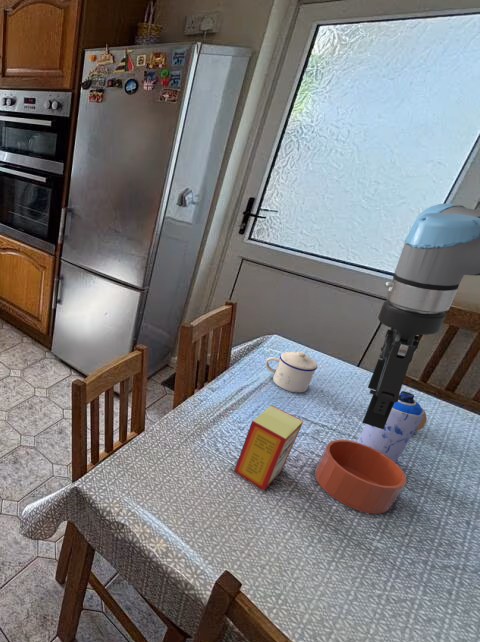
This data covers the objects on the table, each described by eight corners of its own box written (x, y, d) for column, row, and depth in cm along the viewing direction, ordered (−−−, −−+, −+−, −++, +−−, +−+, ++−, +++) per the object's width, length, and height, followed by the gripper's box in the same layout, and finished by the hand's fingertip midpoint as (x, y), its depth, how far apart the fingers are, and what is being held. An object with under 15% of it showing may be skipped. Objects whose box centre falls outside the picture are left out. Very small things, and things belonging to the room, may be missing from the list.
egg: (423, 438, 107) (437, 415, 103) (398, 434, 108) (411, 411, 105) (411, 425, 111) (424, 402, 108) (387, 420, 113) (399, 398, 109)
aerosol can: (393, 456, 102) (430, 392, 93) (394, 477, 96) (434, 411, 88) (351, 441, 106) (383, 378, 98) (350, 459, 101) (384, 395, 92)
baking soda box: (252, 453, 103) (271, 403, 97) (282, 470, 98) (304, 419, 92) (233, 471, 99) (252, 420, 92) (263, 490, 94) (285, 438, 87)
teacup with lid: (309, 383, 128) (322, 351, 123) (306, 397, 121) (319, 365, 116) (263, 368, 135) (274, 337, 130) (258, 381, 129) (269, 350, 124)
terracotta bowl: (388, 483, 95) (403, 458, 91) (392, 525, 86) (409, 499, 82) (316, 455, 102) (327, 431, 99) (312, 490, 93) (325, 465, 90)
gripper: (387, 279, 81) (354, 370, 89) (380, 325, 64) (341, 432, 72) (443, 288, 76) (403, 384, 84) (452, 340, 59) (402, 453, 68)
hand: (375, 406), depth 78 cm, fingers open, 13 cm apart
